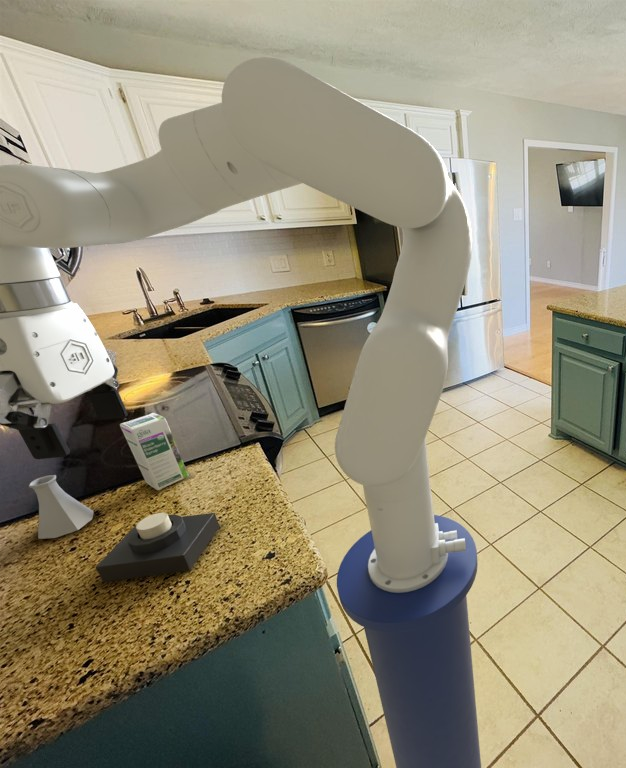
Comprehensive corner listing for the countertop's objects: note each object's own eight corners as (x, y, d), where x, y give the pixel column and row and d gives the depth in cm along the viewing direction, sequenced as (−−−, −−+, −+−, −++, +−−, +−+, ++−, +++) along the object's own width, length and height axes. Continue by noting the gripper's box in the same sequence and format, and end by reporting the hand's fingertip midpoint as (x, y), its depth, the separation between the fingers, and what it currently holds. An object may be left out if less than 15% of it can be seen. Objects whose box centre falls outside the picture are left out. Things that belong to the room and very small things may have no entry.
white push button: (177, 520, 68) (173, 511, 67) (163, 538, 65) (158, 527, 64) (150, 524, 68) (146, 514, 67) (134, 541, 64) (129, 531, 63)
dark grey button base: (220, 526, 73) (211, 504, 71) (190, 570, 64) (179, 546, 62) (145, 536, 71) (134, 513, 69) (103, 583, 62) (89, 558, 60)
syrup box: (157, 491, 83) (130, 429, 78) (145, 483, 86) (118, 422, 80) (189, 477, 88) (166, 417, 82) (176, 469, 90) (152, 411, 85)
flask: (28, 545, 70) (-1, 497, 66) (53, 518, 76) (28, 473, 72) (82, 533, 72) (57, 487, 69) (102, 508, 79) (80, 464, 75)
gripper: (-20, 313, 37) (64, 471, 43) (115, 284, 53) (161, 403, 59) (-122, 318, 36) (-20, 480, 42) (47, 287, 51) (102, 408, 58)
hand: (86, 435), depth 51 cm, fingers open, 9 cm apart
